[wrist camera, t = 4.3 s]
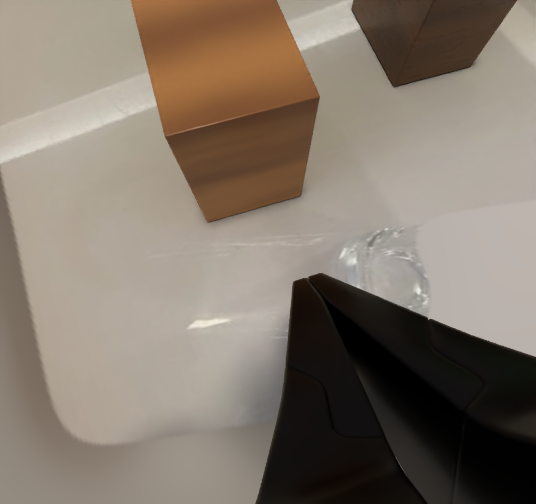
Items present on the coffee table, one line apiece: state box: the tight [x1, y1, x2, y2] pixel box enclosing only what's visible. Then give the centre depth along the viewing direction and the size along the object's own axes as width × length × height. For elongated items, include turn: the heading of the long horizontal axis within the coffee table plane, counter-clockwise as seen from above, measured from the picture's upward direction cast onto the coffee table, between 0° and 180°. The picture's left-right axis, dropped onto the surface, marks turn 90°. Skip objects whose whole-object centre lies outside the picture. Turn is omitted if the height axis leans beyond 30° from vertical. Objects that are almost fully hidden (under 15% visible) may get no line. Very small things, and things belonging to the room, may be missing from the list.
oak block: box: [131, 0, 320, 222], centre depth 17 cm, size 8×6×8 cm
